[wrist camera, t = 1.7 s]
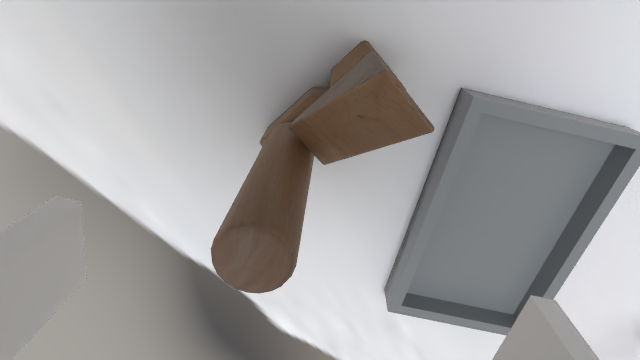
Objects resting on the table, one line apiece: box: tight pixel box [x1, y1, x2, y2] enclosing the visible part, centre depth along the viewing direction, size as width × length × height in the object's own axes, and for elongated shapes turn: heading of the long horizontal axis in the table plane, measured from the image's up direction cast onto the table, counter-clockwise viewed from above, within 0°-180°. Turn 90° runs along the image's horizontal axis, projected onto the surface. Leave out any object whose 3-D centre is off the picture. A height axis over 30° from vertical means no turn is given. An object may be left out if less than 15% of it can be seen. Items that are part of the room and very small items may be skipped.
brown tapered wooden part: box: [211, 41, 434, 293], centre depth 22 cm, size 4×11×18 cm, turn 132°
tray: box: [384, 88, 640, 335], centre depth 33 cm, size 21×14×3 cm, turn 167°
